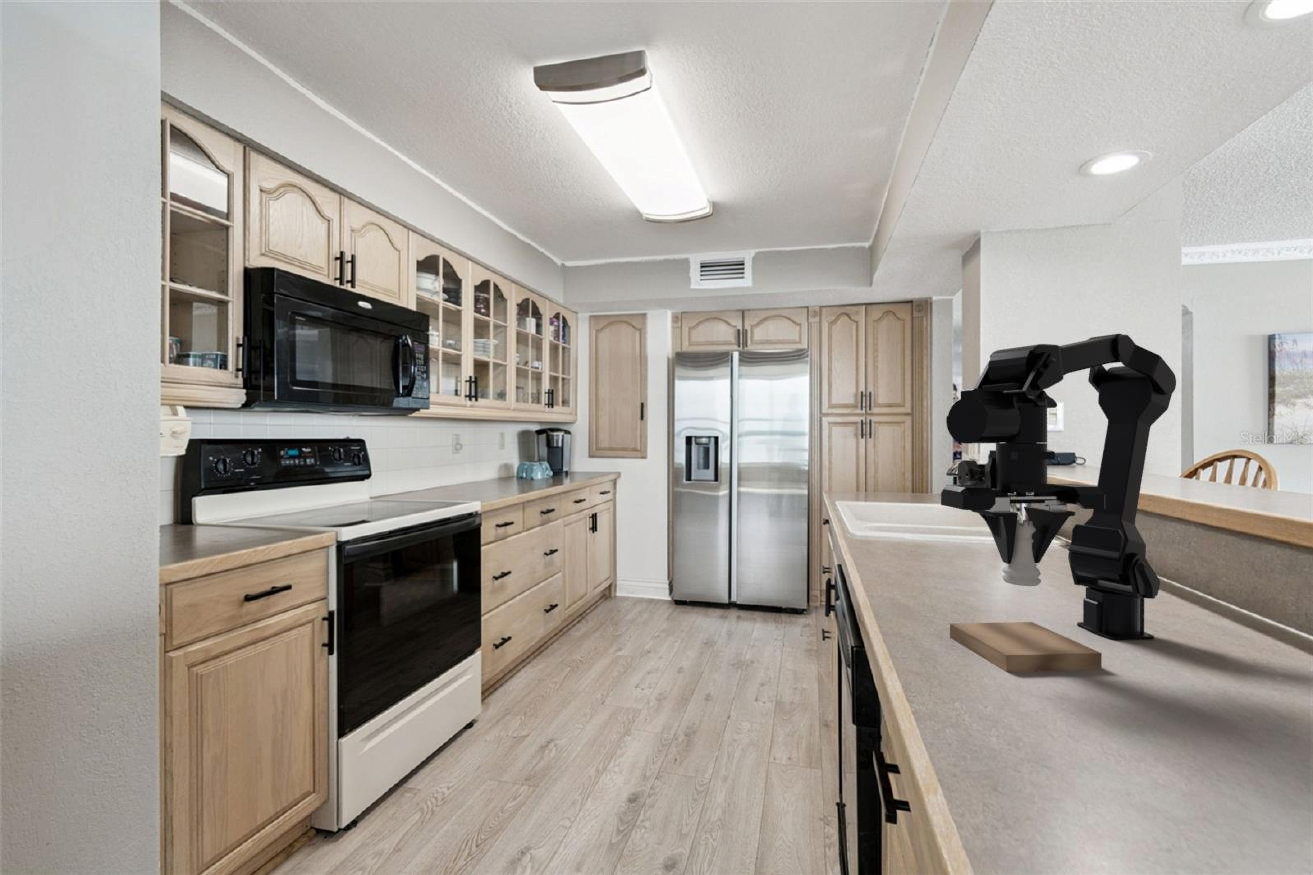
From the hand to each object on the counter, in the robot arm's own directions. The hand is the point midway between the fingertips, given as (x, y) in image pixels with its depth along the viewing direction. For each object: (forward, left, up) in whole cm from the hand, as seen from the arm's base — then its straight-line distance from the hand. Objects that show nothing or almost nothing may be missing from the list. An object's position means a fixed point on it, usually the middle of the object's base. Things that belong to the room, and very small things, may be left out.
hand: (1020, 562), depth 77 cm
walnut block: (0, 0, -12) cm, 12 cm away
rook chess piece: (0, 0, -3) cm, 3 cm away
